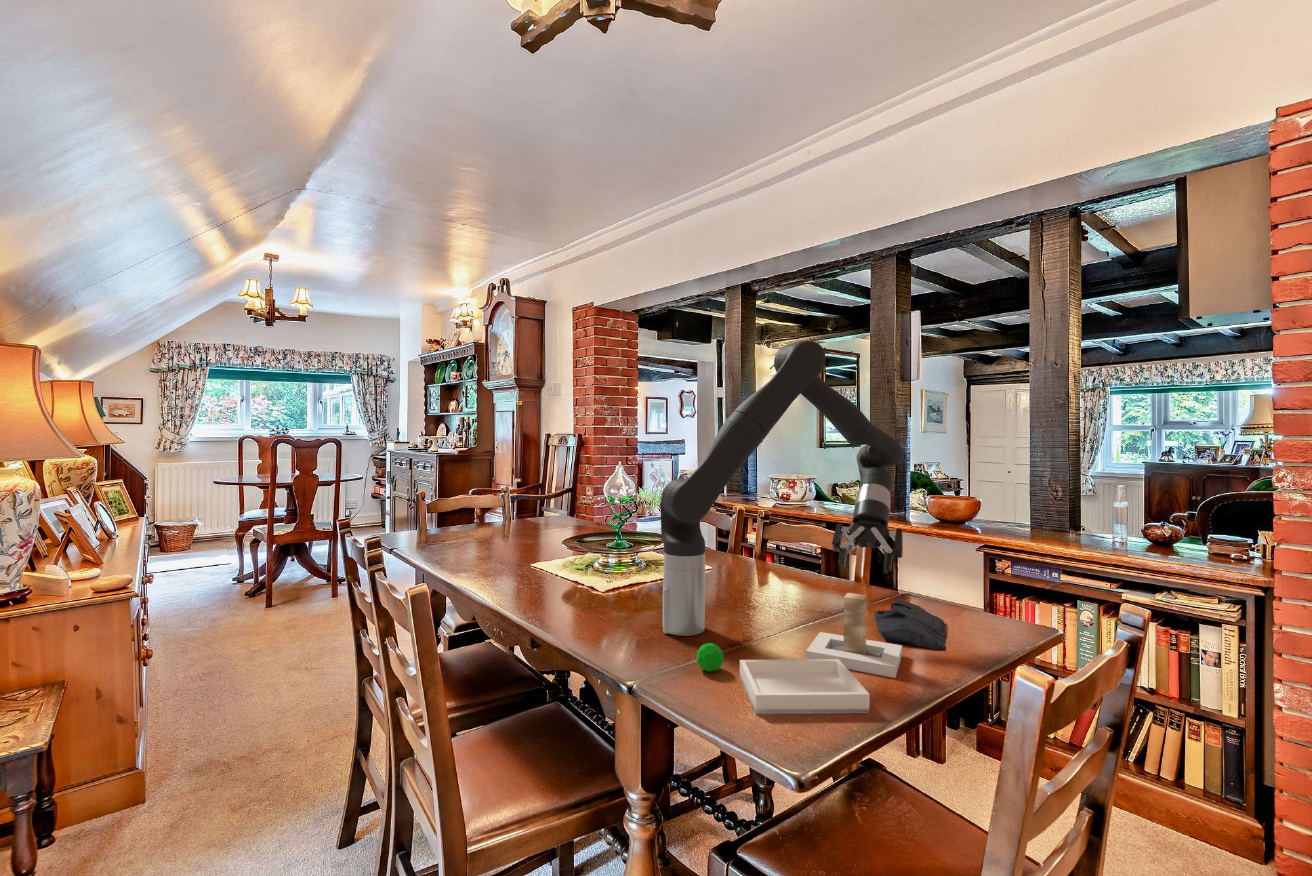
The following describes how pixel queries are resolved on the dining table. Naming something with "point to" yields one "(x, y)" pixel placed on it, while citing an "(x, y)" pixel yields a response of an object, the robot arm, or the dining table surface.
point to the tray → (802, 687)
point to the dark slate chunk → (911, 625)
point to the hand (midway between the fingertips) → (863, 569)
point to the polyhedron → (710, 657)
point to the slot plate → (858, 655)
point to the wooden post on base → (855, 626)
